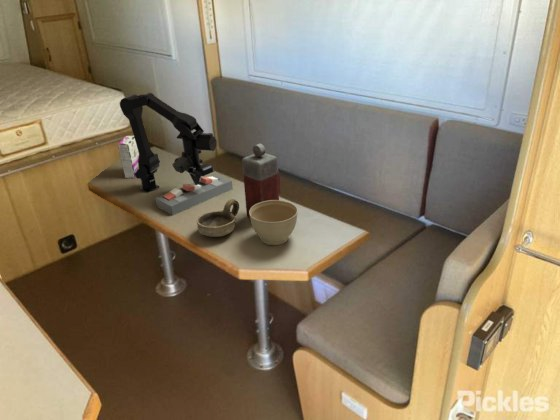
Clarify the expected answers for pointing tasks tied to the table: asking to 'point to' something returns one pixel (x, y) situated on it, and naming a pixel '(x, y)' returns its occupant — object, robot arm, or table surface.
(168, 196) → the rocker
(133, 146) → the candy bar box
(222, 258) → the table surface
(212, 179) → the rocker
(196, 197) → the power board
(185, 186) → the block
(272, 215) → the planter bowl
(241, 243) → the table surface
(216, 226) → the bowl
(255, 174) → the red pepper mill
